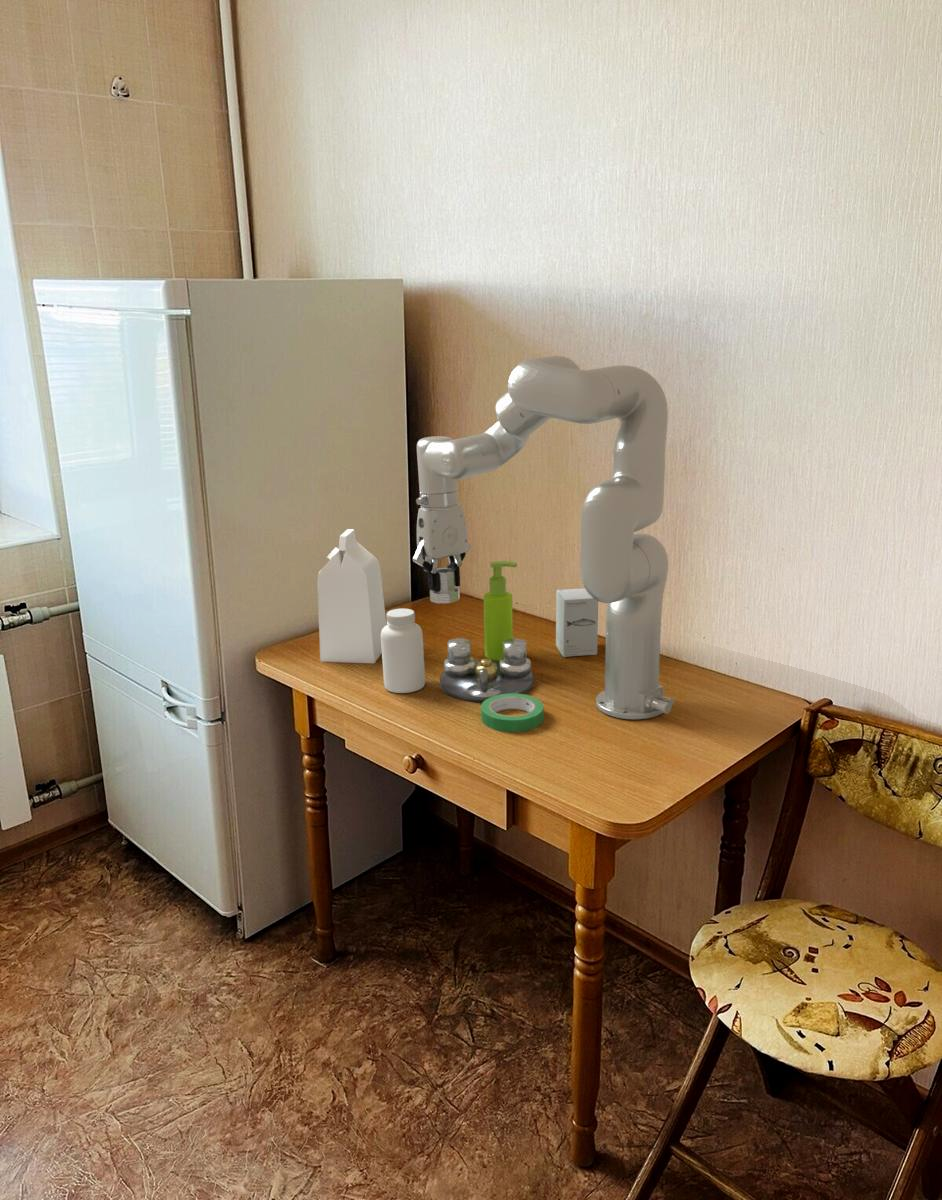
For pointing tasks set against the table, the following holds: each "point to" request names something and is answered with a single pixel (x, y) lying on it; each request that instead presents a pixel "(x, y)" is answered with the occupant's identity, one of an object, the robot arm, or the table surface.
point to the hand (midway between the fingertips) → (444, 586)
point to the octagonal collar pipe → (446, 587)
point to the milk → (350, 604)
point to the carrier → (485, 672)
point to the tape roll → (512, 722)
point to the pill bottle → (402, 652)
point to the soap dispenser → (497, 613)
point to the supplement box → (576, 622)
